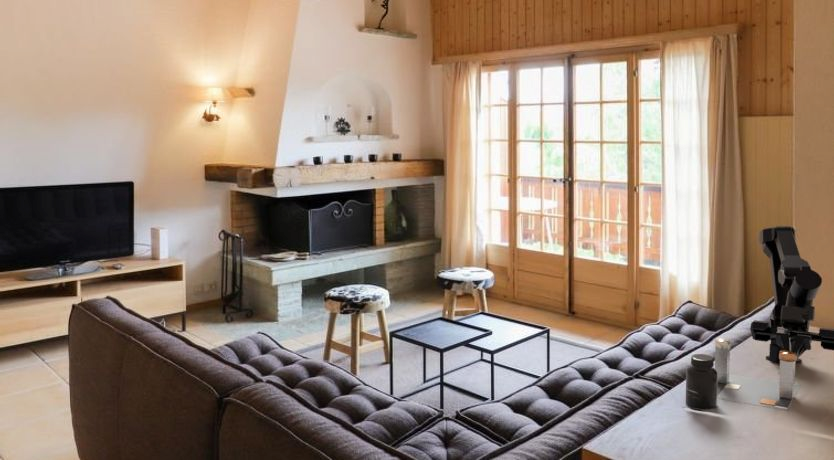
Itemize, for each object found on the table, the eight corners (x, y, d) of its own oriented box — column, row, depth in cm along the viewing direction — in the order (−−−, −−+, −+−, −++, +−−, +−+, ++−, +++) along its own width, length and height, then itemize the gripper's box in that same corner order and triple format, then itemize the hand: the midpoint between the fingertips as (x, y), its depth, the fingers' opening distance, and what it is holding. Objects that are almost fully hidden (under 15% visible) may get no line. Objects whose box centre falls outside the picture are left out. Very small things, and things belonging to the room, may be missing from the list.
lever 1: (716, 377, 180) (717, 337, 178) (731, 380, 177) (732, 339, 176) (712, 382, 177) (713, 341, 175) (727, 384, 175) (728, 343, 173)
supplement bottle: (683, 409, 163) (684, 359, 161) (687, 399, 169) (688, 350, 167) (715, 414, 160) (716, 363, 158) (718, 403, 166) (719, 354, 164)
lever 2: (779, 392, 168) (780, 349, 167) (796, 395, 166) (797, 351, 165) (776, 397, 166) (778, 353, 164) (793, 400, 163) (795, 356, 162)
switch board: (722, 375, 184) (722, 372, 183) (800, 387, 173) (800, 384, 173) (703, 397, 169) (703, 394, 169) (787, 413, 159) (787, 409, 159)
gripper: (752, 288, 174) (741, 343, 166) (840, 296, 163) (833, 355, 155) (758, 312, 181) (748, 366, 174) (842, 321, 170) (835, 379, 163)
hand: (789, 366), depth 166 cm, fingers closed, pressing on lever 2
